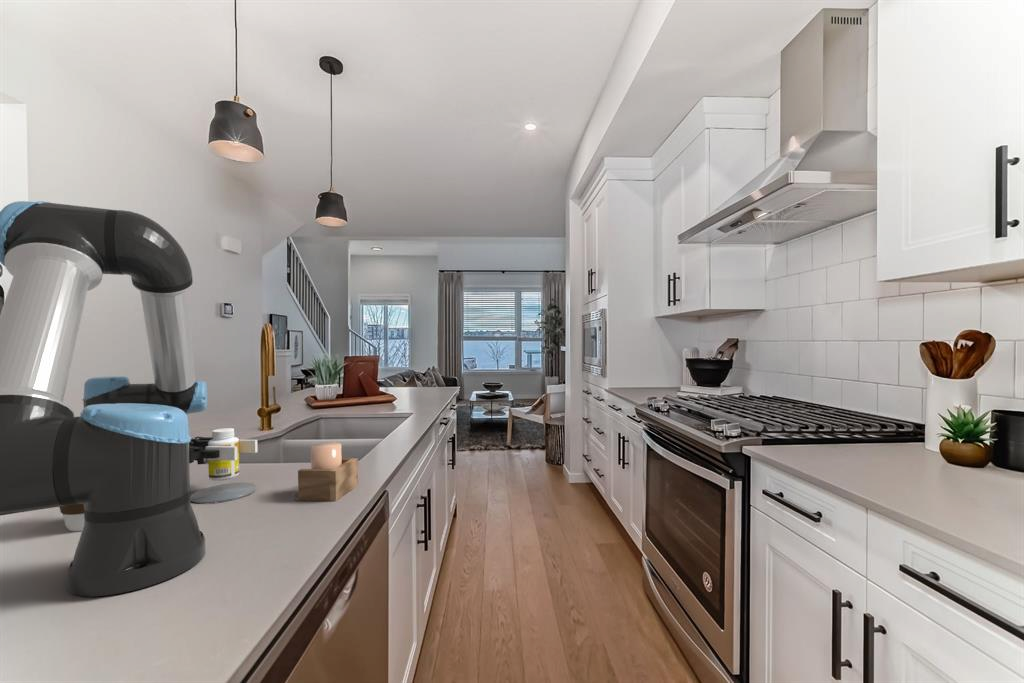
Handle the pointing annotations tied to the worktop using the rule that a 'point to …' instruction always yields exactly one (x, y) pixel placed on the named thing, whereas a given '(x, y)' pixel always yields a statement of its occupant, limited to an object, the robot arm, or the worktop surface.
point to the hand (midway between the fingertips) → (246, 449)
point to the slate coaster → (223, 492)
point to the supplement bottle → (223, 467)
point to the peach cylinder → (326, 455)
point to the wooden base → (327, 481)
